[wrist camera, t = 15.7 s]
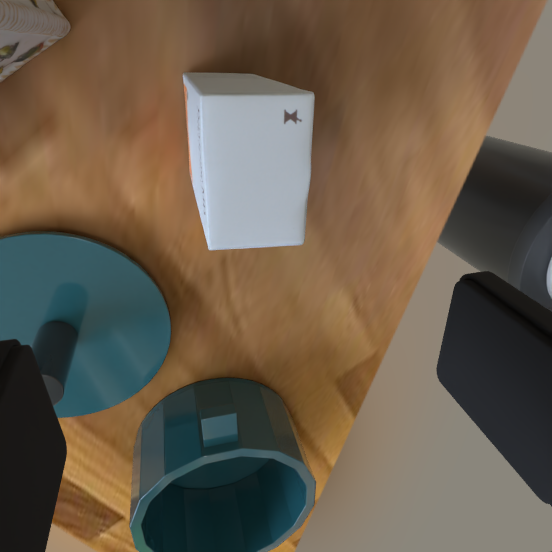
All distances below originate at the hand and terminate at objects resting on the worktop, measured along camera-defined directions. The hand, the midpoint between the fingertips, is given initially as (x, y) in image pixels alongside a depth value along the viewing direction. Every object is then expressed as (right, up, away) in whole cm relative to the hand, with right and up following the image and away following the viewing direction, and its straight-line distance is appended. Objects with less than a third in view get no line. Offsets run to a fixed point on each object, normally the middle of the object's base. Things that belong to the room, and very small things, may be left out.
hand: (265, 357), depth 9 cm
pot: (-5, -13, +29) cm, 32 cm away
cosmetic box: (-3, +11, +17) cm, 20 cm away
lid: (-15, -2, +20) cm, 25 cm away
